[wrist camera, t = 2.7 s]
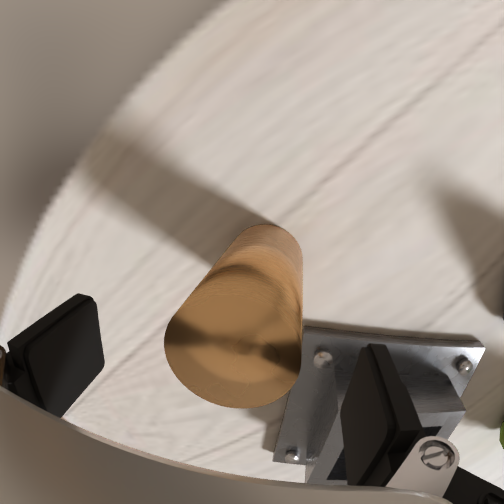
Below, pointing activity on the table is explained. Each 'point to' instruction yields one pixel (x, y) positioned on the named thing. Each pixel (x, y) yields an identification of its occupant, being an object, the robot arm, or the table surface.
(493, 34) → the table surface
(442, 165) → the table surface
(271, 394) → the copper cylindrical peg
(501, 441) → the grenade
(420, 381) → the flange fitting
